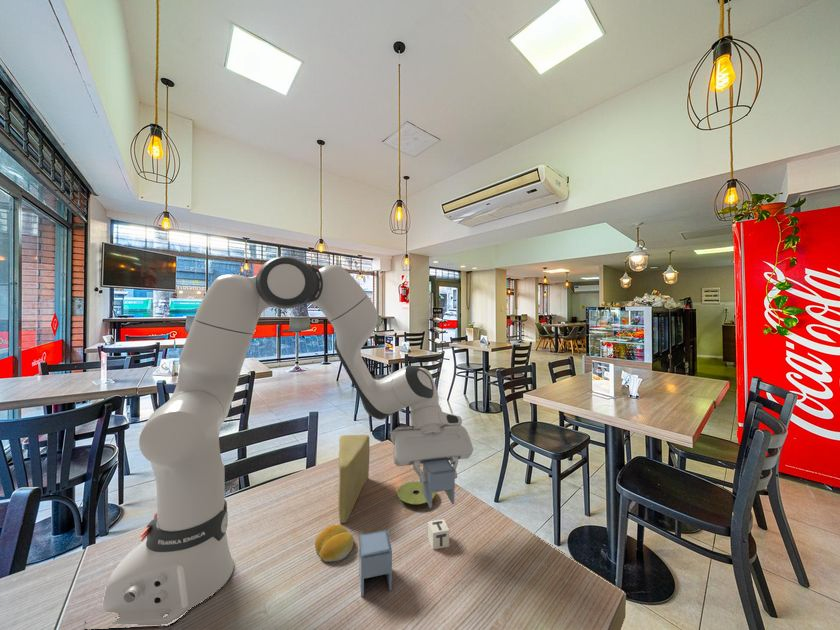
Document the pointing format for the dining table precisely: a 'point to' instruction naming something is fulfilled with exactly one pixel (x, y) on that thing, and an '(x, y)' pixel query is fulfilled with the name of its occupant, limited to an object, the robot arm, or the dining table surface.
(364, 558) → the gray notched block
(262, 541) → the dining table surface
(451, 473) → the grey stool
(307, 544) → the dining table surface
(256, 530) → the dining table surface
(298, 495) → the dining table surface
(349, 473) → the cheese
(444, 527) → the letter cube
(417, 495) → the mat
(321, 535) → the bread roll
